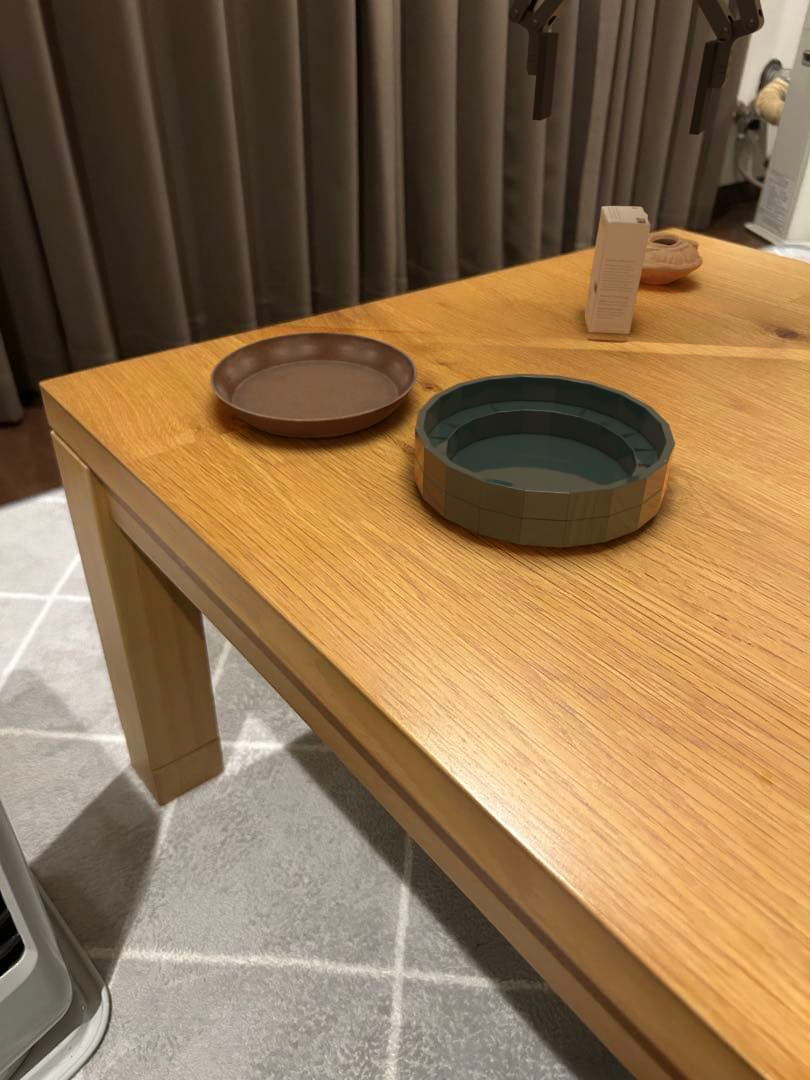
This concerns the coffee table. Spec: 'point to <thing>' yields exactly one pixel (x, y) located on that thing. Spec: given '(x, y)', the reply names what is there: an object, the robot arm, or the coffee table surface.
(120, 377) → the coffee table surface
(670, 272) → the pottery oil lamp
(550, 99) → the robot arm
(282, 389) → the plant saucer
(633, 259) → the cosmetic box
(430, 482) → the bowl
